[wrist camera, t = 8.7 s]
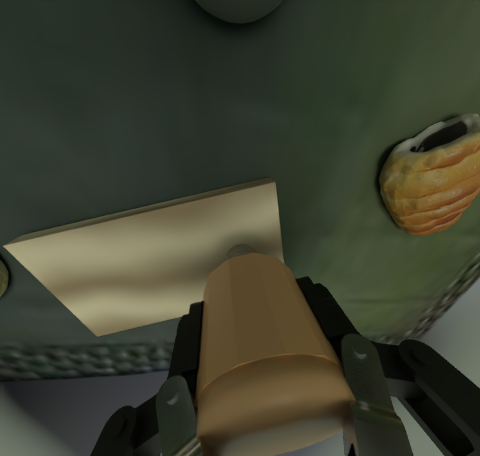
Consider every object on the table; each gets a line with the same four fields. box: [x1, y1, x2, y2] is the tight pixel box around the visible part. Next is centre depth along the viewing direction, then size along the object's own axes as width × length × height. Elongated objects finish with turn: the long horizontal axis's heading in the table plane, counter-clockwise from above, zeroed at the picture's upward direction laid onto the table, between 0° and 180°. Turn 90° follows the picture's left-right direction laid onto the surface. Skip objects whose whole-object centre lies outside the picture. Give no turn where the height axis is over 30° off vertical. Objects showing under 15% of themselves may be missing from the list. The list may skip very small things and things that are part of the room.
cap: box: [195, 253, 355, 456], centre depth 9 cm, size 6×6×6 cm
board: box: [4, 177, 284, 336], centre depth 16 cm, size 11×19×2 cm, turn 101°
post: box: [227, 244, 255, 259], centre depth 13 cm, size 2×2×5 cm
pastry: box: [379, 114, 480, 236], centre depth 14 cm, size 9×7×4 cm
